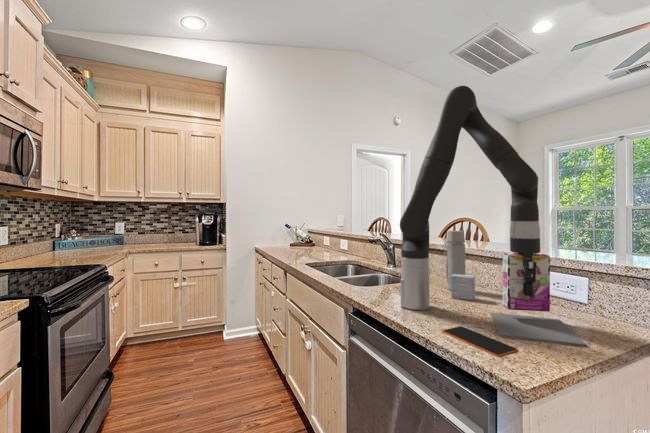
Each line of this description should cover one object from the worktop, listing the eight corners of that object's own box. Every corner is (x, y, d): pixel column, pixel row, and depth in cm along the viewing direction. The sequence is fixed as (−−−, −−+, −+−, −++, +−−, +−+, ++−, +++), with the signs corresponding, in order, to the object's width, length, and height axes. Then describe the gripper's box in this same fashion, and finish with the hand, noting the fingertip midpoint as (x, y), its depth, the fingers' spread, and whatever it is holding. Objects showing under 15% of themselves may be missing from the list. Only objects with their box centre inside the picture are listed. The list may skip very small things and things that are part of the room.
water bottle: (464, 288, 131) (463, 230, 131) (467, 292, 124) (466, 231, 124) (441, 287, 134) (441, 230, 134) (442, 291, 126) (442, 231, 127)
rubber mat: (500, 336, 79) (500, 334, 79) (490, 314, 96) (490, 312, 96) (586, 347, 72) (586, 344, 72) (559, 321, 90) (559, 319, 90)
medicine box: (475, 298, 115) (475, 275, 115) (474, 301, 112) (473, 277, 112) (453, 295, 120) (452, 273, 120) (451, 298, 116) (450, 275, 116)
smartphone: (498, 359, 67) (498, 355, 67) (441, 333, 83) (441, 330, 83) (520, 352, 71) (520, 348, 71) (461, 328, 86) (461, 325, 86)
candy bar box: (508, 310, 89) (507, 254, 89) (502, 305, 94) (501, 252, 94) (551, 312, 87) (550, 255, 87) (542, 307, 92) (542, 252, 92)
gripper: (547, 238, 82) (548, 300, 82) (533, 235, 96) (534, 288, 96) (515, 238, 85) (516, 298, 85) (505, 234, 98) (506, 287, 98)
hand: (525, 293), depth 90 cm, fingers closed on candy bar box, 5 cm apart
